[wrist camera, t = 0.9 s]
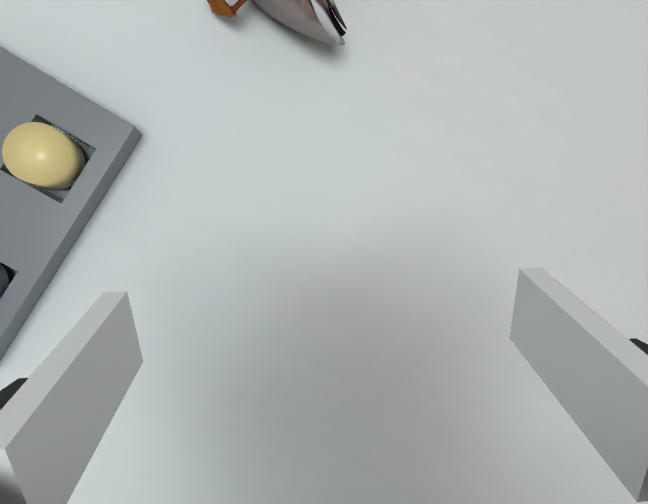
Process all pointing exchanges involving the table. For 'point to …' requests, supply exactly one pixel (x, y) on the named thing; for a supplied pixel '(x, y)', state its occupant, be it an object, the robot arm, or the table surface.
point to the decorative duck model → (296, 16)
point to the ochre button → (43, 156)
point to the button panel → (38, 205)
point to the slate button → (3, 280)
